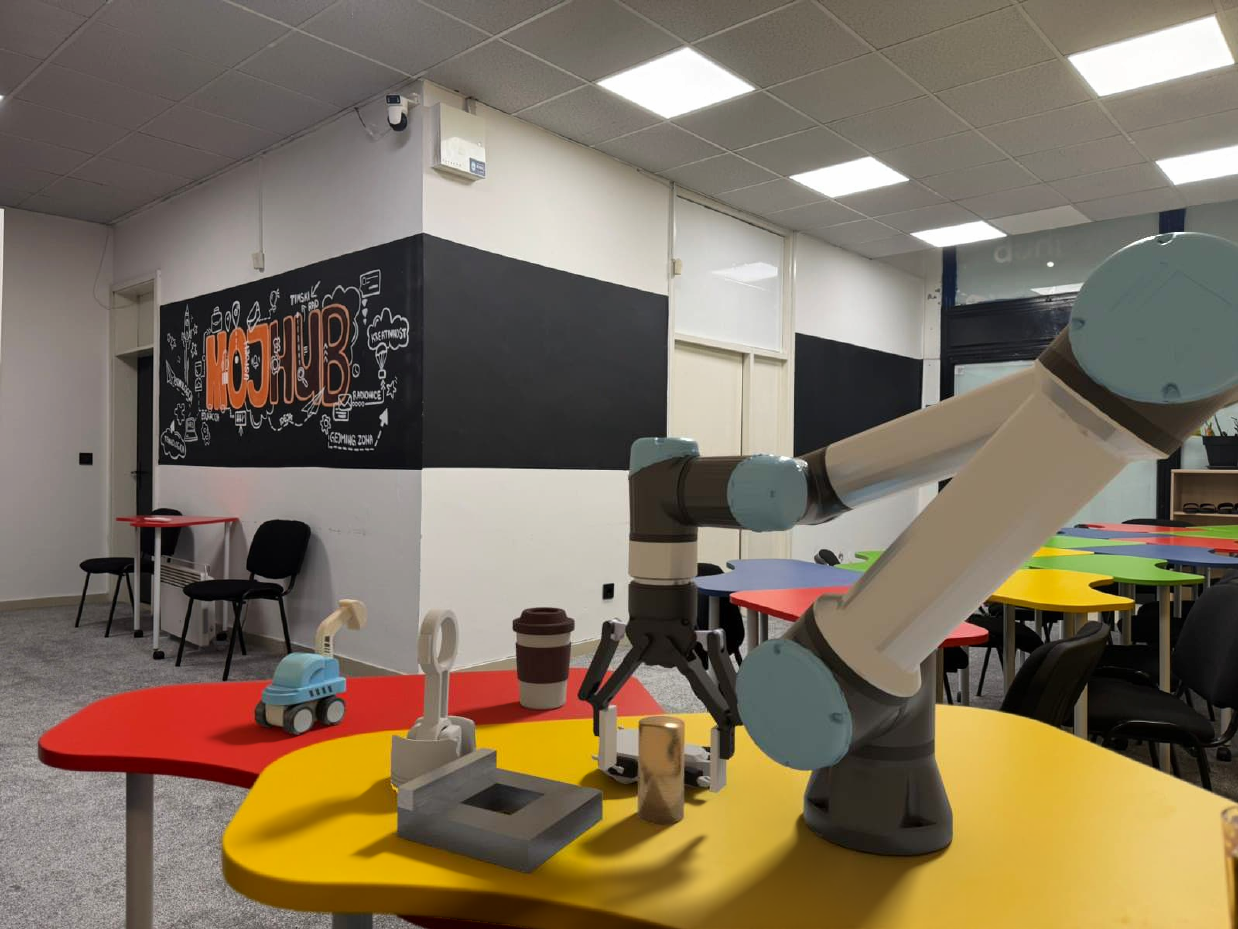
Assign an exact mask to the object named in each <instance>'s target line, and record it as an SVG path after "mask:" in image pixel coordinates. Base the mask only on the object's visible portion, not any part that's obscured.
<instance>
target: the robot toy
mask: <svg viewBox="0 0 1238 929" xmlns="http://www.w3.org/2000/svg"><path fill="white" fill-rule="evenodd" d="M617 728H618V729H617V753H616V764H614V765H613V766H611V767H610V768H608V769H607V770H605V771H604V770H601V772H603V773H605V775H607V776H609V777H613V778H614V779H615V780H616V781H617V782H618V783H620V782H622V783H621V784H624V783H629V784H632V783H634V782H638V733H639V729H634V728H625V727H624V726H622V725H617ZM590 757H591V759H592V760H594V761H597V766H598V767H599V750H598V753H597V755H594V754H593V755H590ZM686 785H687V786H686ZM684 786H686V787H691V788H692V787H693V788H700V787H704V788H707V787H710V746H701V745H700V744H693V743H686V742H685V743H684Z"/></svg>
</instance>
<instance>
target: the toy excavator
mask: <svg viewBox="0 0 1238 929" xmlns="http://www.w3.org/2000/svg"><path fill="white" fill-rule="evenodd" d="M337 604H338V606H339V608H338V609H336V610H335V611H334V612H332V613H331V614H330V615H329V616H327V617H326V618H325V619H324V620H322V621H321V623H320V624H319V625H318V627H317V630H316V633H315V644H314V653H311V652H310V653H308V652H301V651H300V652H299V651H298V652H297V651H296V652H292V653H289V654H288V655H286V656H284V657H283V658H282V660H280V661H279V663H278V665H277V667H276V668H275V670H274V674H273V679H272V683H270V684H267V685H266V687H265V688H264V689H263V690H261V700H260V701H258V703H257V704H256V706H255V708H254V713H253V714H254V717H253V718H254V719H253V720H254V721H255V722H256V724H257V725H258V726H261V727H264V728H270V729H272V728H274V727H276V726H277V727H282V728H283V730H284V731H285V732H287V733H289V734H293V735H295V736H300V735H301V734H302V733H305V732H308V731H310V729H311V728H312V727H313V725H314V723H315V722H316V721H318V722H319V723H322V724H324V725H328V726H331V725H333V726H337V725H339V723H341V722H342V721H343V719H344V718H345V716H346V712H347V709H346V706H347V705H346V704H347V703H346V701H345V699H344V698H341V697H339V696H336V695H337V694H341V693H345V692H346V691H347V678H345V677H342V676H340V663H339V660H338V659H336V658H335V657H334V653H333V640H334V636H335V635H336V634H337V633H338V632H339V631H340V629H342V627H343V626H344V625H345V624H346V627H347V629H348V630H353V631H362V630H363V629H364V628H365V626H366V624H367V622H368V610H367V607H366V605H365V604H364V602H362V601H359V600H357V599H349V598H347V599H345V598H344V599H340V600H339V601H338V602H337Z"/></svg>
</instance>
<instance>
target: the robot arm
mask: <svg viewBox="0 0 1238 929" xmlns="http://www.w3.org/2000/svg"><path fill="white" fill-rule="evenodd" d="M1033 363H1034V364H1033V365H1030V366H1028V367H1026V368H1023V369H1020V370H1018V371H1015V372H1012V373H1009V374H1007V375H1005V376H1001V377H1000V378H998V379H997V378H996V379H994V380H991V381H990V382H987V383H984V384H981V385H979V386H977V387H974V388H971V389H969V390H966V391H964V392H961V393H958V394H955V395H954V396H951V397H949V398H946V399H943V400H941V401H938V402H936V403H934V404H931V405H928V406H925V407H923V408H920V409H917V410H915V411H913V412H910V413H907V414H906V415H902V416H900V417H897V418H895V419H892V420H890V421H887V422H885V423H882V424H880V425H878V426H877V425H876V426H874V427H872V428H868V429H866V430H864V431H862V432H859V433H856V434H854V435H851V436H848V437H846V438H844V439H841V440H839V441H836V442H834V443H831V444H829V445H827V446H824V447H821V448H818V449H816V450H814V451H811V452H808V453H806V454H804V455H800V456H796V457H789V456H783V455H774V454H763V453H759V454H755V453H754V454H751V455H745V454H744V455H720V456H719V455H718V456H717V455H716V456H708V455H707V456H706V455H701V454H700V452H699V451H700V450H699V448H700V447H699V443H698V442H697V440H695V439H694V438H689V437H641V438H637V439H636V440H635V441H634V442H633V443H632V445H631V448H630V458H629V460H630V461H629V470H628V471H629V473H628V475H627V481H628V496H629V497H628V500H629V501H628V502H629V506H628V507H629V508H628V509H629V533H628V534H629V535H628V562H627V563H628V565H627V566H628V567H627V568H628V569H627V571H628V572H627V574H628V575H629V576H630V577H631V578H633V580H630V583H628V585H627V587H628V588H627V589H628V591H627V592H628V593H627V596H628V597H627V612H628V616H629V617H628V621H627V622H625V621H622V620H621V619H620V618H619V617H614V618H612V619H608V620H605V621H603V623H601V624H602V625H601V637H600V641H599V644H598V646H597V648H596V650H595V653H594V655H593V657H592V659H591V662H590V665H589V666H588V669H587V671H586V673H585V676H584V678H583V680H582V682H581V685H580V687H579V690H578V692H577V698H578V700H579V701H581V702H586V703H588V704H589V705H591V707H592V710H593V711H592V715H593V716H592V721H593V723H592V732H593V735H594V737H598V740H599V741H598V751H599V766H598V770H600V771H602V770H604V771H605V770H607V769H608V768H610V767H611V766H613V765H614V764H616V753H617V730H618V729H617V728H618V727H617V726H618V725H617V724H618V705H614V704H611V703H612V702H613V699H614V698H615V697H616V695H618V693H619V692H620V691H621V689H622V688H623V687H624V685H626V683H627V682H628V681H629V680H630V678H632V676H633V674H635V672H636V670H637V669H638V668H639V667H640V666H641V664H643V663H644V665H645V666H647V667H649V666H650V667H655V666H660V667H662V668H664V669H673V668H676V669H677V670H678V671H679V673H680V674H681V675H683V676H684V677H685V678H686V680H687V682H688V683H689V685H690V686H691V688H692V689H693V690H694V692H695V693H696V695H697V696H698V698H699V699H700V700H701V702H702V704H703V706H704V707H705V708H706V710H707V711H708V713H709V714H710V716H711V717H712V719H713V720H714V722H715V723H716V724H715V725H714V726H712V727H711V728H710V738H709V739H710V740H709V741H710V746H709V747H710V786H709V792H710V793H713V794H718V793H719V792H720V791H721V790H723V788H725V786H726V785H727V761H729V760H730V759H732V758H733V756H734V754H735V751H736V749H735V748H736V746H735V744H736V742H735V741H736V727H738V726H739V727H744V729H745V731H746V732H747V734H748V736H749V738H750V739H751V740H752V742H753V743H754V744H755V746H756V747H757V748H758V749H759V750H760V751H761V752H762V753H763V754H764V755H765V756H766V757H767V758H768V759H771V760H772V761H774V762H775V763H777V764H779V766H783V767H784V768H790V769H791V770H797V771H802V772H803V771H804V772H806V771H807V772H808V771H811V773H810V774H809V778H808V781H807V784H806V787H805V790H804V793H803V810H802V812H803V813H802V814H803V820H804V822H805V824H806V825H807V827H808V828H809V829H810V830H812V831H813V832H814V833H815V834H816V835H818V836H820V837H821V838H823V839H826V840H827V841H830V842H831V843H835V844H837V845H840V846H842V847H846V848H848V849H853V850H856V851H860V852H865V853H866V852H867V853H870V854H871V853H873V854H879V855H887V856H889V855H890V856H913V855H914V856H915V855H922V854H928V853H932V852H936V851H938V850H941V849H943V848H945V847H946V846H947V845H950V844H949V843H951V841H952V840H953V837H954V825H953V824H954V815H953V811H952V806H951V803H950V800H949V797H948V793H947V791H946V788H945V785H944V780H943V779H942V775H941V772H940V769H939V766H938V763H937V760H936V703H937V702H936V698H937V697H936V693H937V692H936V691H937V690H936V686H937V684H936V683H937V677H936V676H937V652H938V650H939V648H938V647H939V646H940V645H941V644H942V643H943V642H944V641H945V640H947V638H948V637H949V636H951V635H952V633H953V632H954V631H955V630H957V629H958V628H959V627H960V626H961V625H962V624H963V623H964V622H965V621H967V619H968V618H970V616H972V614H973V613H974V612H976V610H978V609H979V608H980V607H981V606H982V605H983V604H984V603H985V602H986V601H987V600H988V599H989V598H990V597H992V595H993V594H994V593H996V591H998V589H1000V588H1001V587H1002V586H1003V585H1005V583H1006V582H1007V581H1008V580H1009V579H1010V578H1011V577H1012V576H1013V575H1015V573H1017V572H1018V571H1019V569H1021V567H1023V565H1025V564H1026V562H1029V560H1030V559H1031V558H1032V557H1033V556H1034V555H1035V554H1036V553H1037V552H1038V551H1039V550H1040V549H1042V548H1043V547H1044V546H1045V545H1046V544H1047V543H1048V542H1049V541H1050V540H1051V539H1052V538H1054V536H1055V535H1056V534H1057V533H1058V532H1060V530H1062V529H1063V527H1065V526H1066V525H1067V524H1068V523H1069V522H1071V520H1072V519H1073V518H1074V517H1075V516H1076V515H1077V514H1078V513H1080V511H1082V509H1084V507H1085V506H1086V505H1087V504H1089V503H1090V501H1092V500H1093V499H1094V498H1095V496H1097V495H1098V494H1100V492H1101V491H1102V490H1104V488H1106V487H1107V485H1109V484H1110V483H1111V482H1112V481H1113V480H1114V479H1115V478H1116V477H1117V476H1118V475H1119V474H1120V473H1121V472H1122V471H1123V470H1124V469H1125V468H1126V467H1128V465H1130V464H1131V463H1134V462H1138V461H1152V460H1166V459H1168V458H1169V457H1171V455H1172V454H1174V452H1176V451H1177V450H1178V449H1179V448H1180V447H1181V446H1182V445H1183V444H1185V443H1186V441H1187V440H1189V439H1190V438H1191V437H1192V436H1193V435H1194V434H1195V433H1196V432H1197V431H1199V429H1201V428H1202V427H1203V426H1204V425H1205V423H1207V422H1208V421H1209V420H1210V419H1211V418H1212V417H1213V416H1215V415H1216V414H1217V413H1218V411H1221V410H1223V409H1228V408H1230V407H1232V406H1234V405H1237V404H1238V243H1236V242H1234V241H1231V240H1229V239H1226V238H1223V237H1222V236H1217V235H1213V234H1209V233H1204V232H1197V231H1196V232H1195V231H1194V232H1193V231H1181V232H1176V231H1175V232H1167V233H1162V234H1157V235H1153V236H1150V237H1145V238H1143V239H1140V240H1138V241H1137V240H1136V241H1134V242H1132V243H1130V244H1128V245H1127V246H1125V247H1124V246H1123V247H1122V248H1121V249H1119V250H1117V251H1116V252H1115V253H1113V254H1111V255H1110V256H1109V257H1107V258H1106V259H1105V260H1104V261H1102V262H1101V263H1100V264H1099V265H1098V266H1096V268H1094V270H1093V271H1092V272H1091V273H1090V274H1089V276H1088V277H1087V278H1086V280H1085V281H1084V282H1083V283H1082V285H1081V287H1080V288H1079V290H1078V293H1077V294H1076V296H1075V299H1074V301H1073V305H1072V308H1071V310H1070V316H1069V321H1068V324H1067V325H1066V326H1065V327H1064V328H1063V329H1062V330H1061V331H1060V332H1059V334H1057V335H1056V337H1055V338H1054V339H1053V340H1052V341H1051V342H1050V343H1049V345H1047V346H1046V348H1045V349H1044V350H1043V351H1042V352H1041V353H1040V354H1039V355H1038V357H1036V359H1035V360H1034V361H1033ZM950 478H951V479H950ZM947 479H948V480H949V479H950V481H949V482H948V483H947V484H946V485H945V486H944V487H943V488H942V489H941V490H940V492H938V493H937V494H936V496H935V497H934V498H933V499H932V500H931V501H930V502H929V503H928V504H927V505H926V506H925V507H924V508H923V509H922V510H921V511H920V513H919V514H918V515H917V516H916V517H915V518H914V519H913V520H912V521H911V522H910V523H909V524H908V525H907V526H906V527H905V529H904V530H903V531H902V532H901V533H900V534H899V535H898V536H897V537H896V538H895V540H894V541H893V542H891V544H889V546H888V547H887V548H886V549H885V550H884V551H883V553H881V554H880V555H879V557H878V558H876V560H875V561H874V562H873V563H872V564H871V565H870V566H869V568H867V569H866V571H865V572H864V573H863V574H862V575H861V576H860V577H859V578H858V579H857V580H856V581H855V582H854V583H853V584H852V585H851V586H850V587H849V589H847V591H846V592H845V593H836V592H827V593H822V594H821V595H820V596H818V597H817V598H816V599H815V600H814V601H813V602H812V604H811V605H809V606H808V608H807V609H806V610H805V611H803V613H802V614H801V615H800V616H799V617H798V618H797V619H796V620H795V621H794V623H793V624H791V626H790V627H789V628H788V629H787V630H786V631H785V632H784V633H783V634H781V636H779V637H773V638H769V639H766V640H763V641H762V643H759V644H757V646H756V647H754V648H752V649H751V651H749V652H748V653H747V654H746V656H745V657H744V658H743V660H742V661H741V664H740V666H739V668H738V670H737V671H736V669H735V667H734V664H733V661H732V659H731V657H730V655H729V651H728V649H727V637H726V631H725V630H724V629H723V628H721V627H719V628H716V629H714V630H700V628H699V626H698V622H697V618H698V584H696V582H695V581H693V580H692V579H694V578H696V577H697V576H698V539H699V538H698V534H699V528H715V529H728V530H729V529H730V530H742V531H751V532H753V533H757V534H758V533H763V532H764V533H765V532H766V533H769V532H770V533H771V532H786V531H789V530H792V529H793V528H794V527H796V526H804V525H805V526H819V525H822V524H826V523H829V522H833V521H834V520H836V519H839V518H840V517H841V516H842V515H843V514H845V513H849V512H850V511H853V510H855V509H859V508H861V507H865V506H868V505H871V504H874V503H877V502H881V501H883V500H887V499H890V498H893V497H896V496H898V495H901V494H905V493H907V492H911V491H913V490H917V489H920V488H923V487H926V486H930V485H932V484H935V483H938V482H942V481H946V480H947ZM625 636H626V638H627V639H628V641H629V643H630V644H631V646H632V647H631V648H630V649H629V650H628V652H627V653H626V655H625V656H624V657H623V659H622V662H621V663H620V664H619V666H618V667H617V668H616V669H615V670H614V672H613V673H612V674H611V675H610V677H608V679H607V681H606V682H605V683H604V684H603V685H602V683H603V681H604V678H605V676H606V674H607V671H608V669H609V667H610V665H611V662H612V660H613V658H614V656H615V654H616V651H617V649H618V647H619V644H620V641H621V640H623V639H624V638H625ZM699 643H700V644H701V645H702V649H703V650H704V651H706V652H707V655H708V661H710V662H709V663H710V665H711V667H712V670H713V672H714V674H715V677H716V680H717V681H718V684H719V688H720V689H721V691H722V693H721V691H720V690H719V688H718V687H717V685H716V684H715V682H714V681H713V680H712V678H711V677H710V675H709V674H708V672H707V671H706V669H705V667H704V666H703V662H702V660H701V658H700V657H699V655H698V654H697V653H696V651H695V648H696V647H697V645H698V644H699ZM601 685H602V687H601ZM722 694H723V695H722ZM609 704H610V705H609Z"/></svg>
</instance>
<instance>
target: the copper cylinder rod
mask: <svg viewBox="0 0 1238 929" xmlns="http://www.w3.org/2000/svg"><path fill="white" fill-rule="evenodd" d="M685 726H686V723H685V721H684V720H682V719H680V718H678V717H675V716H668V715H653V716H647V717H643V718H641V719H639V720H638V730H639V733H638V781H637V817H638V819H639V820H641V821H643V822H645V823H647V824H651V825H658V826H659V825H660V826H665V825H668V826H669V825H673V824H678V823H679V822H681V821H682V820H683V819H684V817H685V785H684V743H686V742H685V741H686V740H685V736H686V735H685V730H686V728H685Z"/></svg>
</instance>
